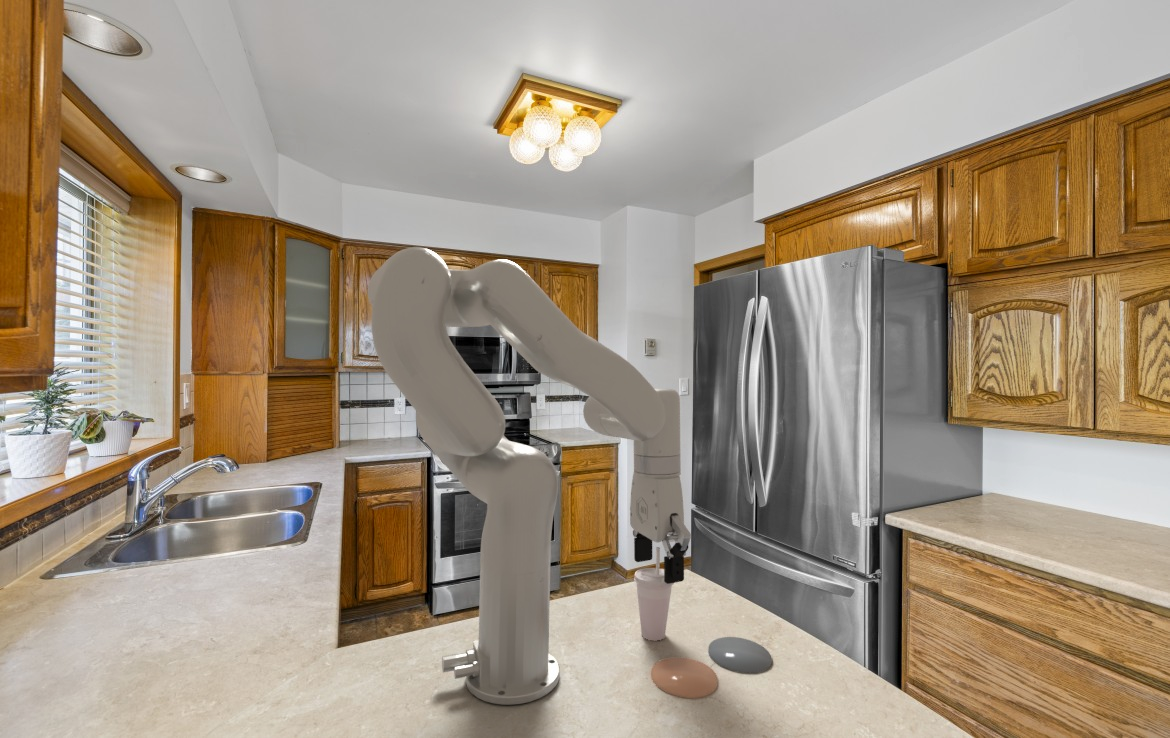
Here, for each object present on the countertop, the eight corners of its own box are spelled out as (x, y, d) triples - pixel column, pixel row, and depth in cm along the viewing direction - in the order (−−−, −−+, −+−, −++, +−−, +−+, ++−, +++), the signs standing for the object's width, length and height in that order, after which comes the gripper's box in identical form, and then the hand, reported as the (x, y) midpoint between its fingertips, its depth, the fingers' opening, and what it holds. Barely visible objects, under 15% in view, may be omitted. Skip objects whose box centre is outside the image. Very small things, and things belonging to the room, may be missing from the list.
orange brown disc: (672, 706, 66) (673, 700, 66) (639, 669, 74) (639, 664, 74) (731, 692, 69) (731, 685, 69) (693, 658, 78) (693, 652, 78)
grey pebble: (735, 681, 72) (735, 675, 72) (696, 648, 80) (696, 643, 80) (784, 667, 76) (785, 662, 76) (742, 637, 84) (742, 632, 84)
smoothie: (672, 647, 80) (674, 555, 80) (630, 642, 81) (632, 552, 82) (674, 628, 86) (675, 543, 87) (635, 623, 87) (636, 539, 88)
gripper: (613, 458, 91) (614, 556, 91) (664, 476, 75) (665, 595, 75) (650, 455, 94) (651, 550, 94) (708, 472, 78) (709, 587, 78)
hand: (658, 570), depth 84 cm, fingers open, 9 cm apart
